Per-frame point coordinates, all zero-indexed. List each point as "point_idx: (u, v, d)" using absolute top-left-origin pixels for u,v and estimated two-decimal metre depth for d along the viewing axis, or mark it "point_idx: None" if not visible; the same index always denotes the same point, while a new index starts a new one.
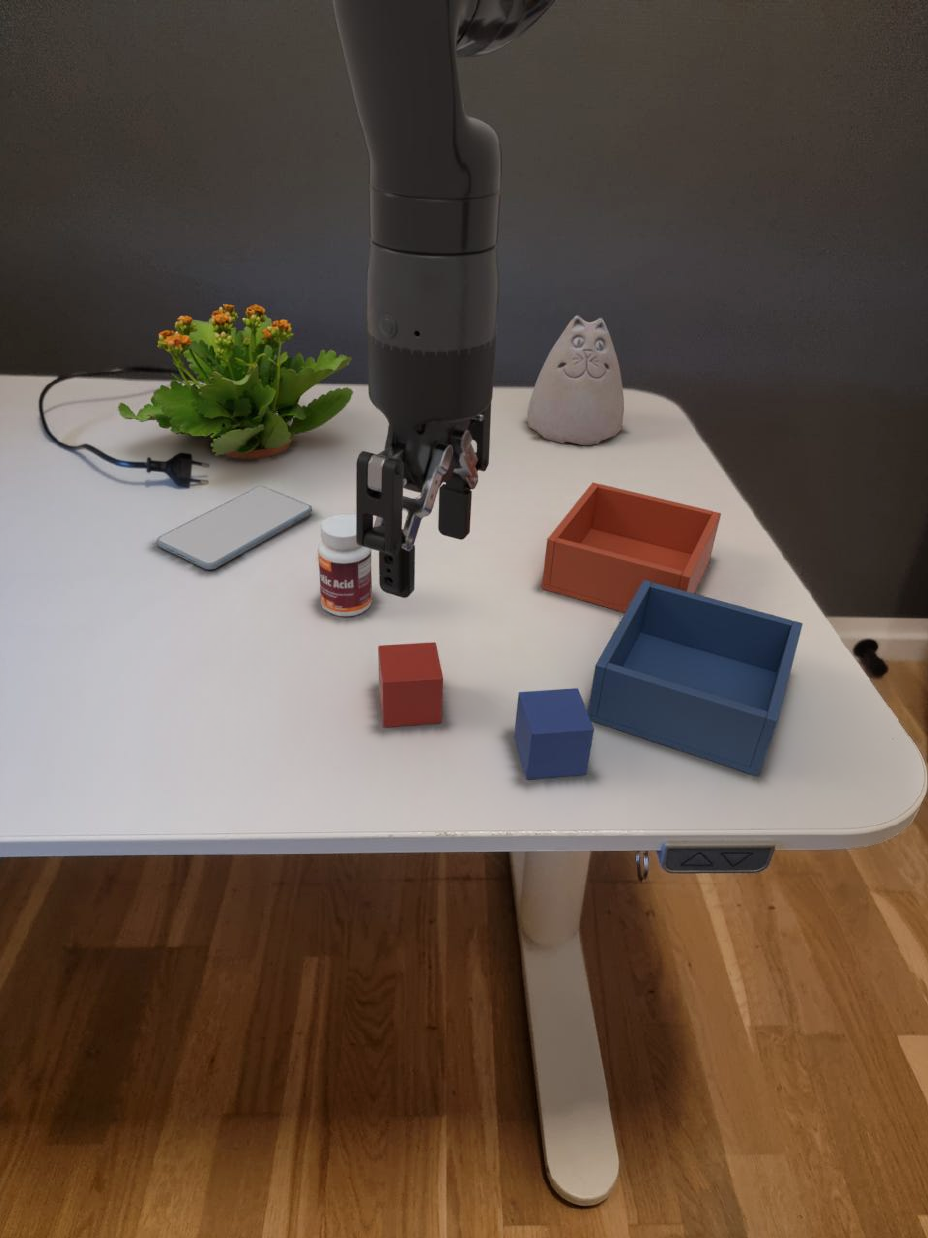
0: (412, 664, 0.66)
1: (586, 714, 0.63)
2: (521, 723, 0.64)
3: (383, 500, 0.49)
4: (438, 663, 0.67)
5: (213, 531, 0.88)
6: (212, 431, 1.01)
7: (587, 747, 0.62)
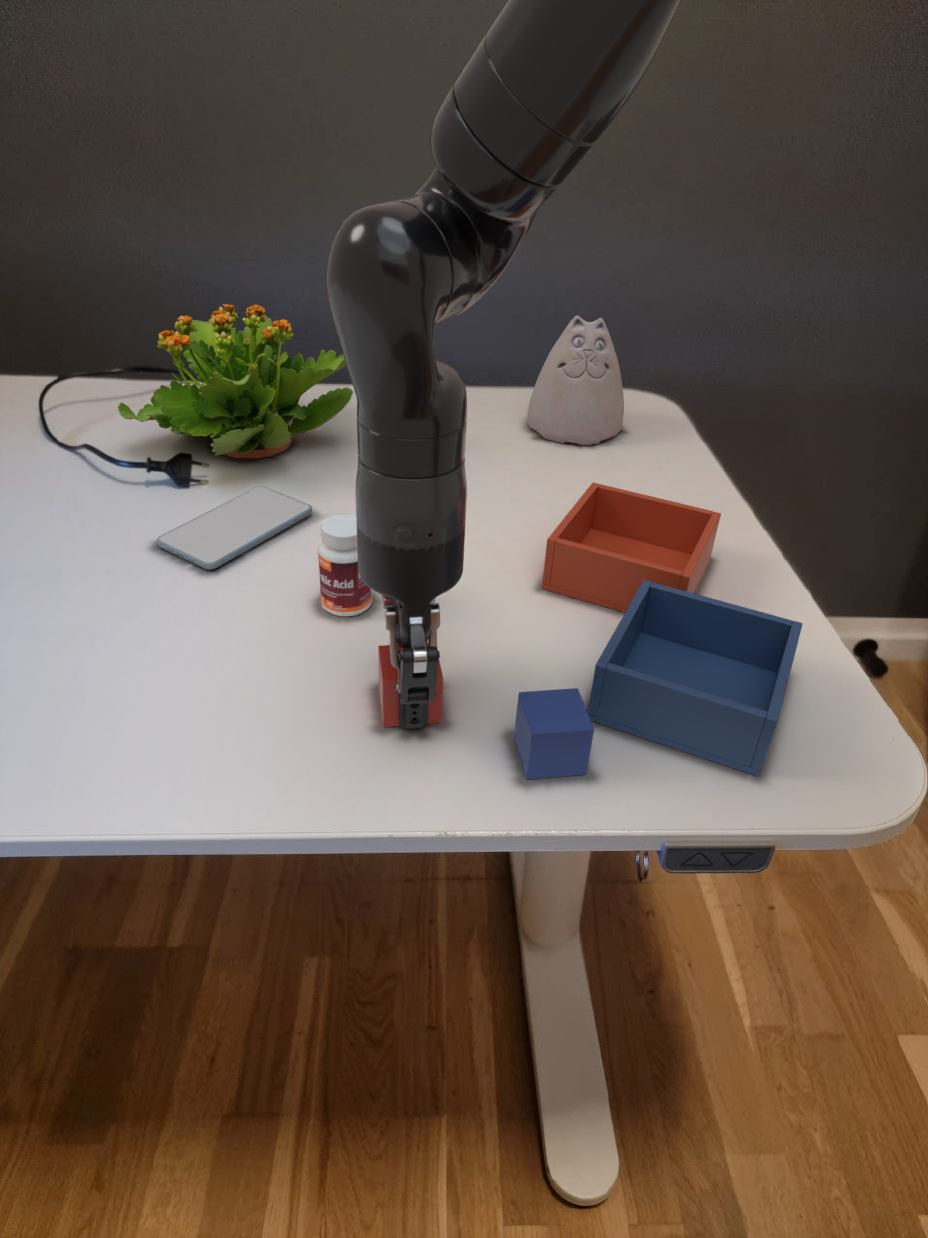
0: None
1: (586, 714, 0.63)
2: (521, 723, 0.64)
3: (427, 677, 0.60)
4: (438, 663, 0.67)
5: (213, 531, 0.88)
6: (212, 431, 1.01)
7: (587, 747, 0.62)
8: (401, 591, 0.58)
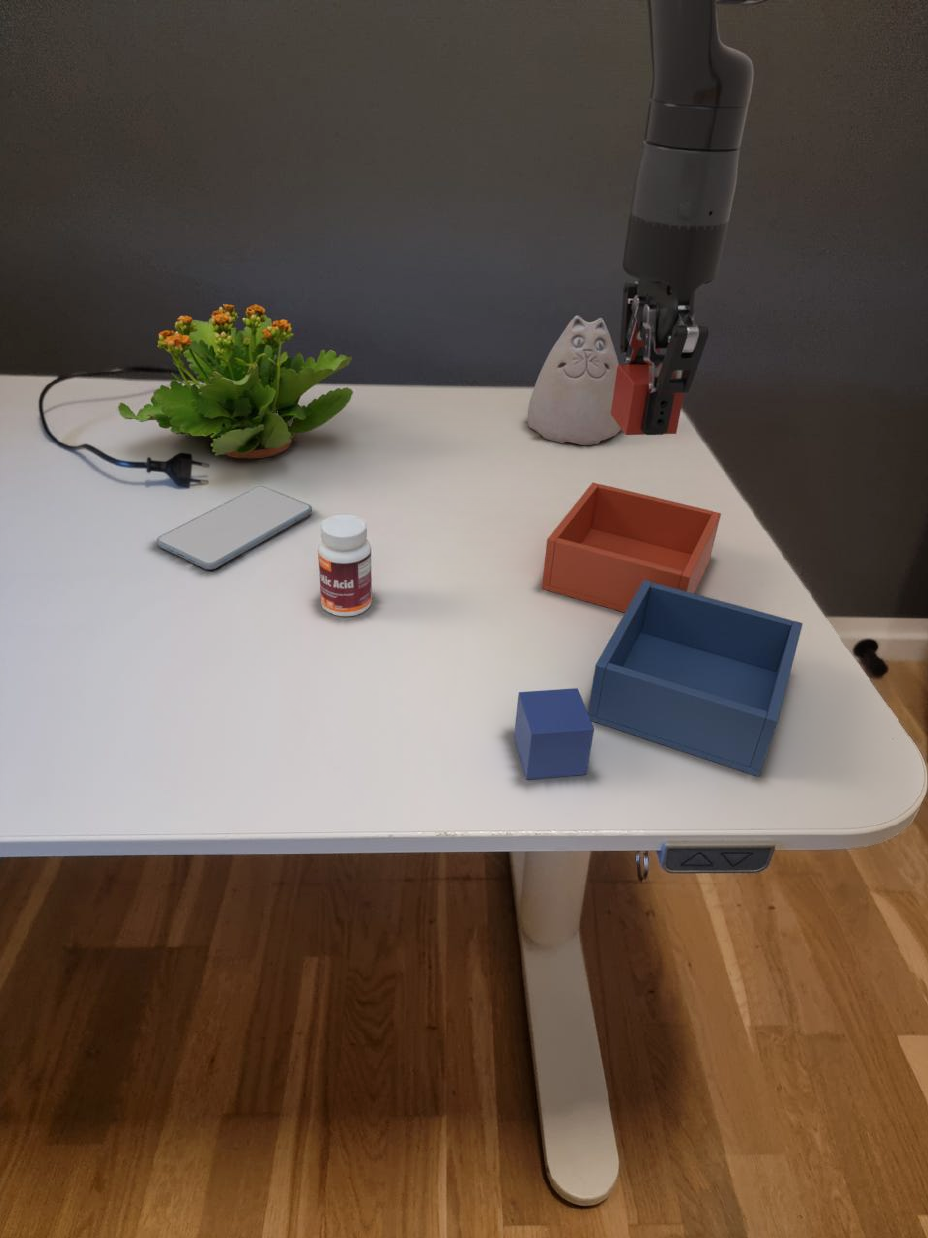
0: None
1: (586, 714, 0.63)
2: (521, 723, 0.64)
3: (693, 357, 0.67)
4: None
5: (213, 531, 0.88)
6: (212, 431, 1.01)
7: (587, 747, 0.62)
8: (674, 274, 0.65)
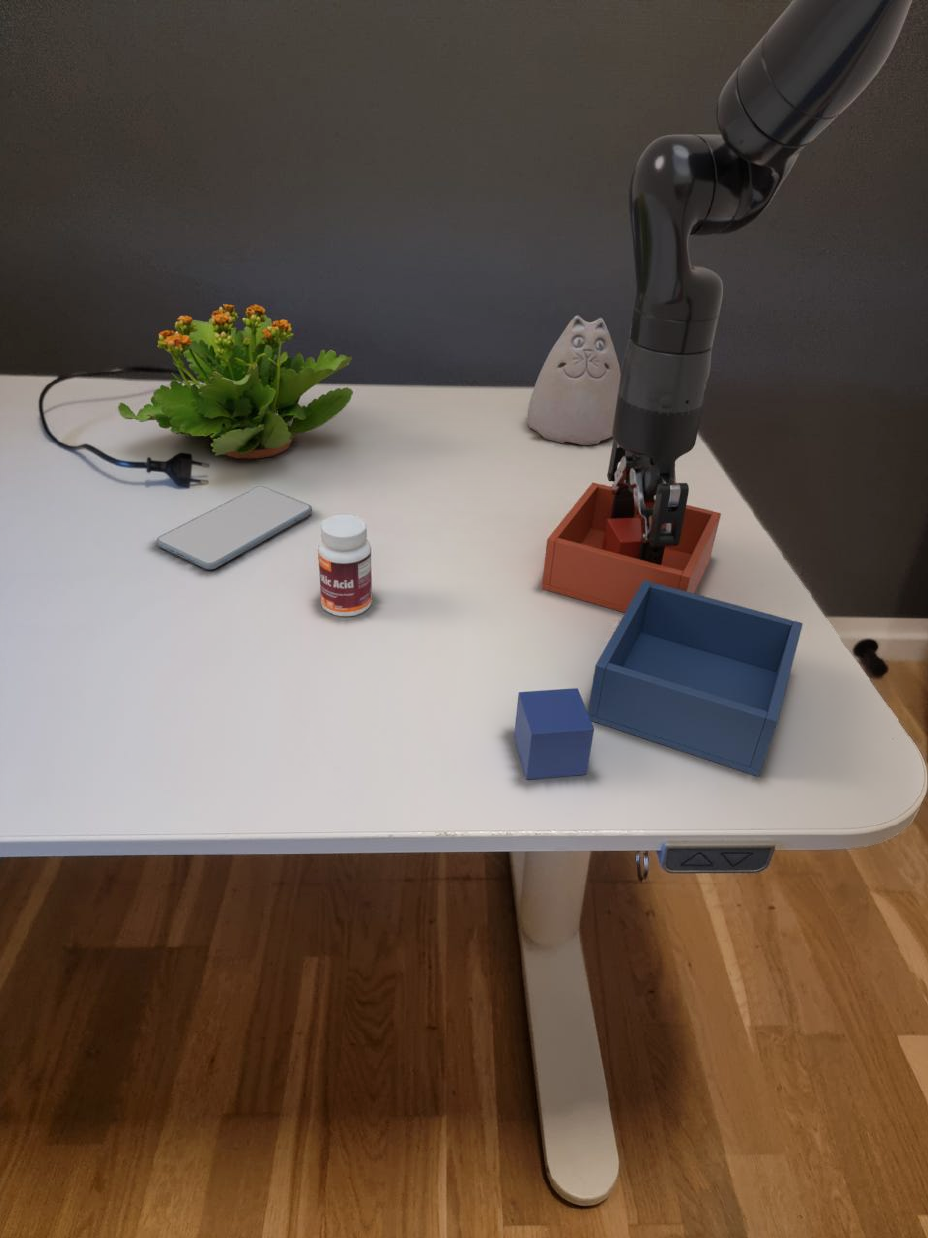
0: (639, 531, 0.84)
1: (586, 714, 0.63)
2: (521, 723, 0.64)
3: (678, 511, 0.75)
4: None
5: (213, 531, 0.88)
6: (212, 431, 1.01)
7: (587, 747, 0.62)
8: (656, 449, 0.75)
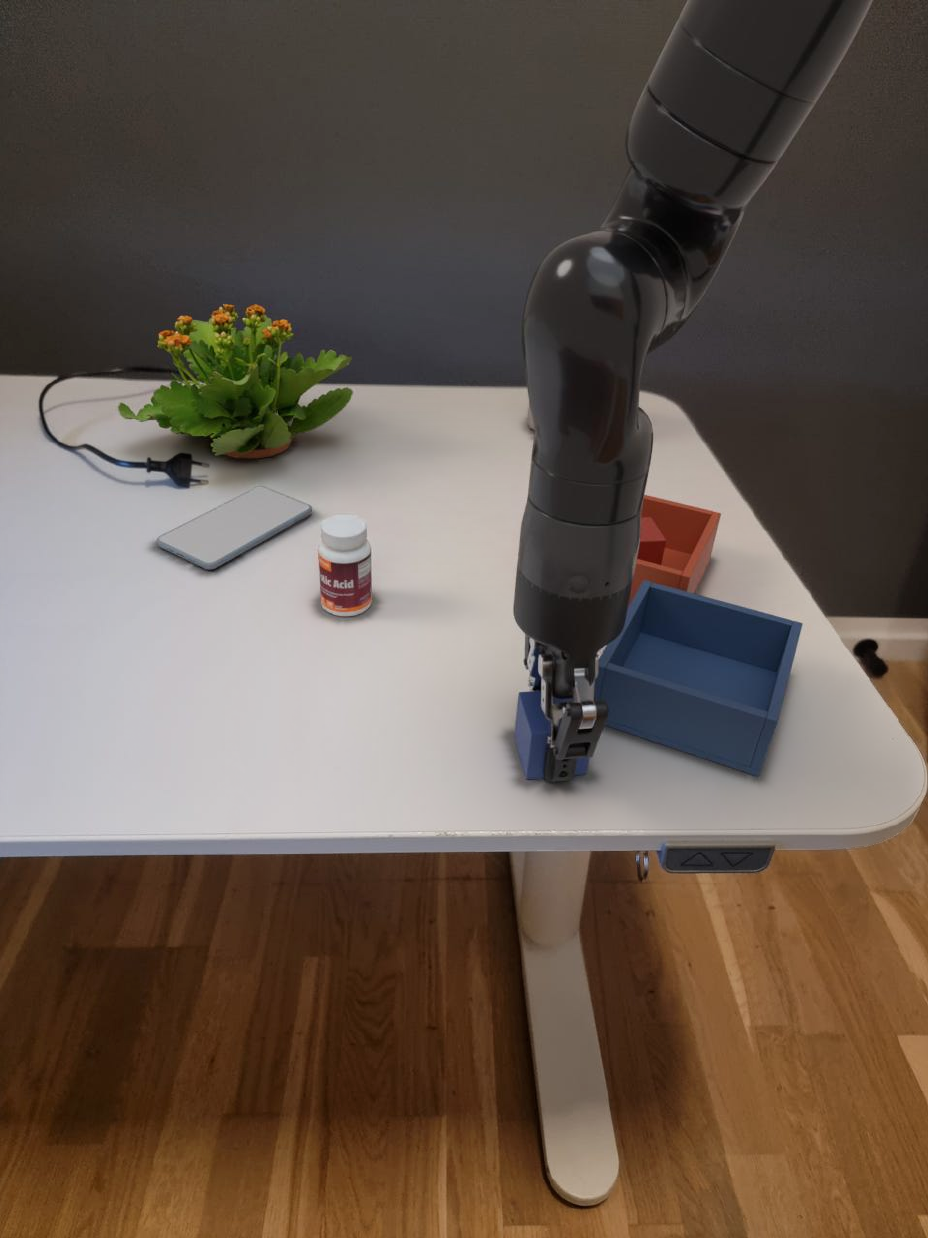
0: None
1: None
2: (521, 723, 0.64)
3: (592, 733, 0.56)
4: (658, 530, 0.84)
5: (213, 531, 0.88)
6: (212, 431, 1.01)
7: None
8: (568, 642, 0.55)
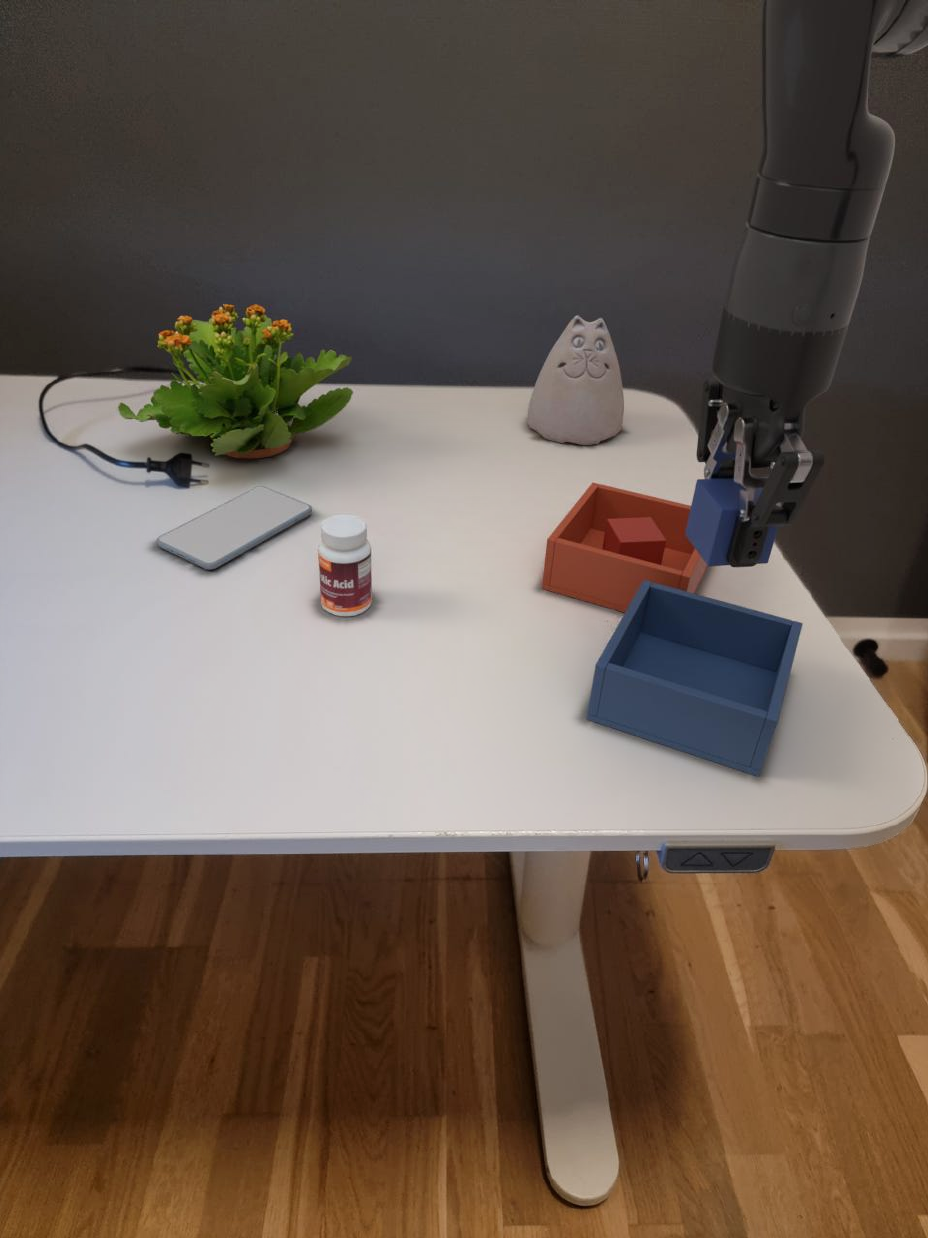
0: (639, 531, 0.84)
1: None
2: (701, 510, 0.62)
3: (802, 488, 0.54)
4: (658, 530, 0.84)
5: (213, 531, 0.88)
6: (212, 431, 1.01)
7: (774, 529, 0.60)
8: (782, 388, 0.52)
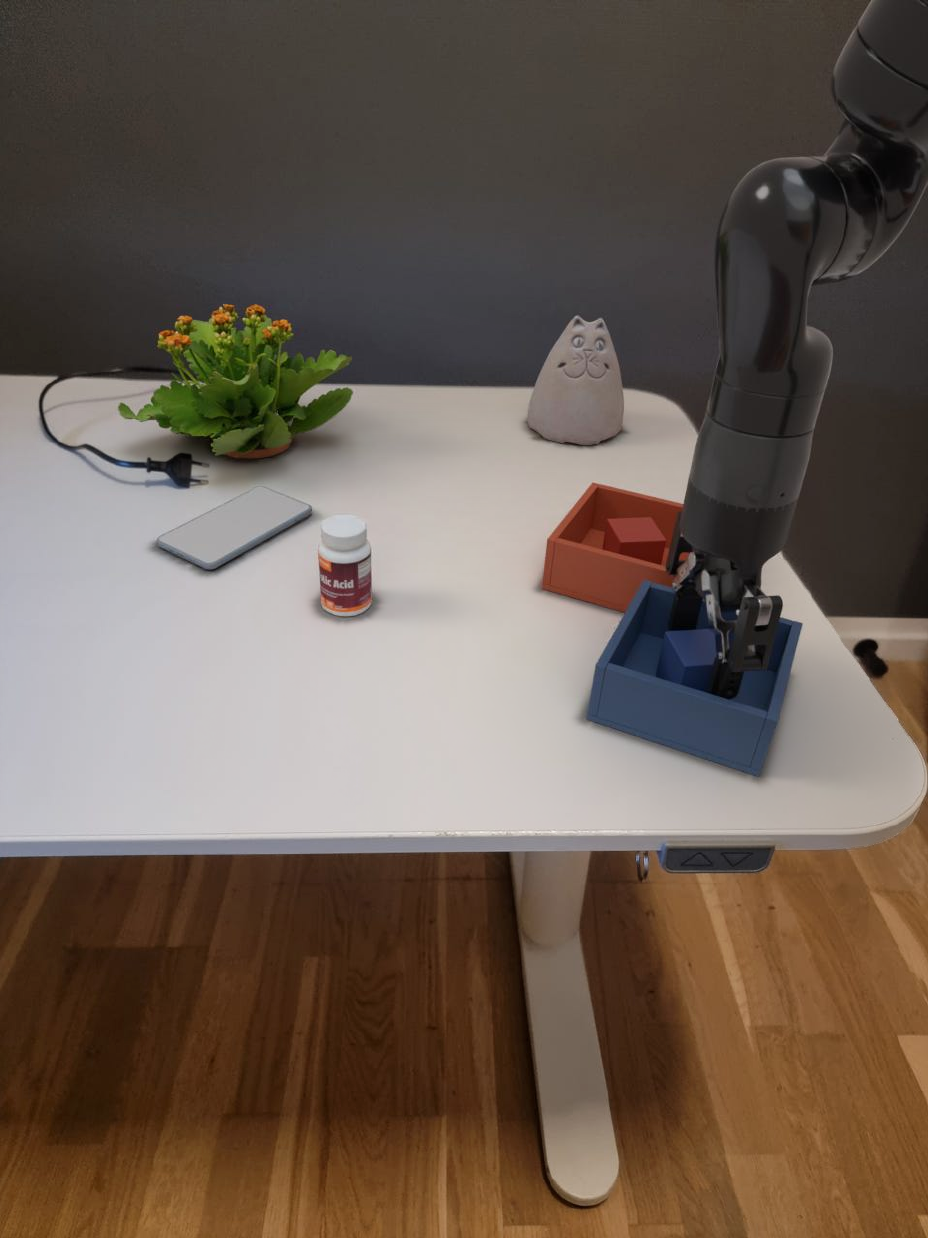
0: (639, 531, 0.84)
1: None
2: (668, 659, 0.70)
3: (768, 631, 0.59)
4: (658, 530, 0.84)
5: (213, 531, 0.88)
6: (212, 431, 1.01)
7: None
8: (740, 552, 0.59)
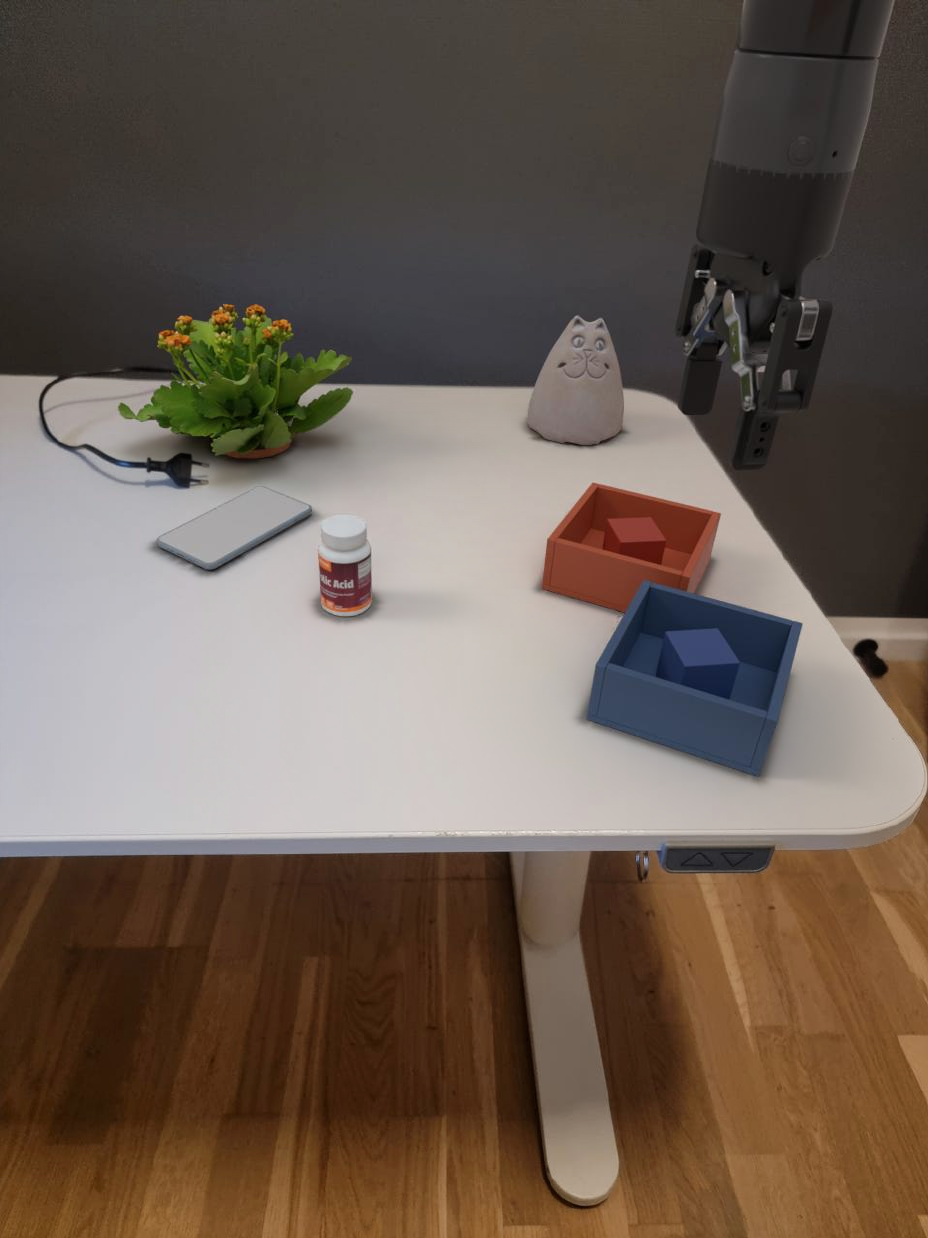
0: (639, 531, 0.84)
1: (730, 650, 0.69)
2: (668, 659, 0.70)
3: (812, 348, 0.45)
4: (658, 530, 0.84)
5: (213, 531, 0.88)
6: (212, 431, 1.01)
7: (732, 680, 0.68)
8: (777, 245, 0.45)
